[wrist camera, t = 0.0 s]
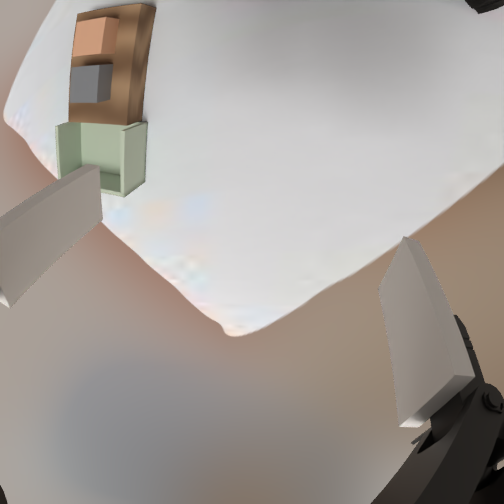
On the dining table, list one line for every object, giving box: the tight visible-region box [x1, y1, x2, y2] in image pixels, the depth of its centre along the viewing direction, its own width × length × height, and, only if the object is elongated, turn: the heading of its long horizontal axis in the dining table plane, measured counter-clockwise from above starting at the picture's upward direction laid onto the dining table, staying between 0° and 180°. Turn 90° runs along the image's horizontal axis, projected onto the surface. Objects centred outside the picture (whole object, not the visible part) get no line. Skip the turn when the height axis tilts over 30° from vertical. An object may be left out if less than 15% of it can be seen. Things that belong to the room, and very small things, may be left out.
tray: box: [55, 122, 148, 197], centre depth 38 cm, size 9×13×6 cm
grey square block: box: [69, 64, 113, 103], centre depth 30 cm, size 5×5×3 cm
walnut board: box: [69, 3, 156, 126], centre depth 32 cm, size 17×11×4 cm, turn 170°
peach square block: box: [72, 17, 119, 57], centre depth 27 cm, size 5×5×3 cm
